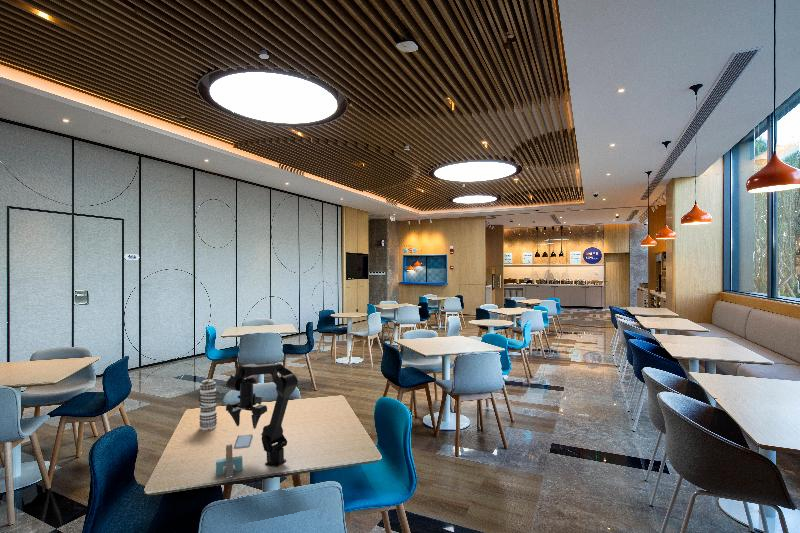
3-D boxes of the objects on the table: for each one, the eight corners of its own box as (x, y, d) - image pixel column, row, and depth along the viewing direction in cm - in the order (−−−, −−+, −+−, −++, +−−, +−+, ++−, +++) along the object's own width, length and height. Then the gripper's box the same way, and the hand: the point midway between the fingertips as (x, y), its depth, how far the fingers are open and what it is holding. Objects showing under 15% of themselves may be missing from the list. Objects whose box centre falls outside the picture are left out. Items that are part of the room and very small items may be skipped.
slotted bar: (225, 466, 179) (225, 454, 179) (232, 464, 180) (232, 453, 180) (226, 478, 168) (226, 465, 168) (233, 476, 169) (233, 464, 169)
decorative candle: (201, 431, 221) (201, 383, 221) (196, 427, 228) (196, 380, 228) (219, 427, 227) (219, 380, 227) (214, 422, 234) (213, 377, 234)
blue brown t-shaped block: (242, 467, 177) (241, 442, 178) (242, 470, 175) (242, 444, 175) (216, 472, 173) (215, 446, 174) (216, 475, 171) (215, 448, 171)
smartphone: (233, 448, 197) (237, 435, 212) (233, 450, 197) (237, 437, 212) (249, 446, 199) (253, 434, 214) (249, 448, 199) (253, 436, 214)
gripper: (274, 389, 195) (274, 423, 195) (242, 386, 202) (242, 418, 202) (259, 396, 185) (258, 432, 185) (225, 392, 191) (224, 426, 191)
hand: (246, 427), depth 191 cm, fingers open, 9 cm apart
